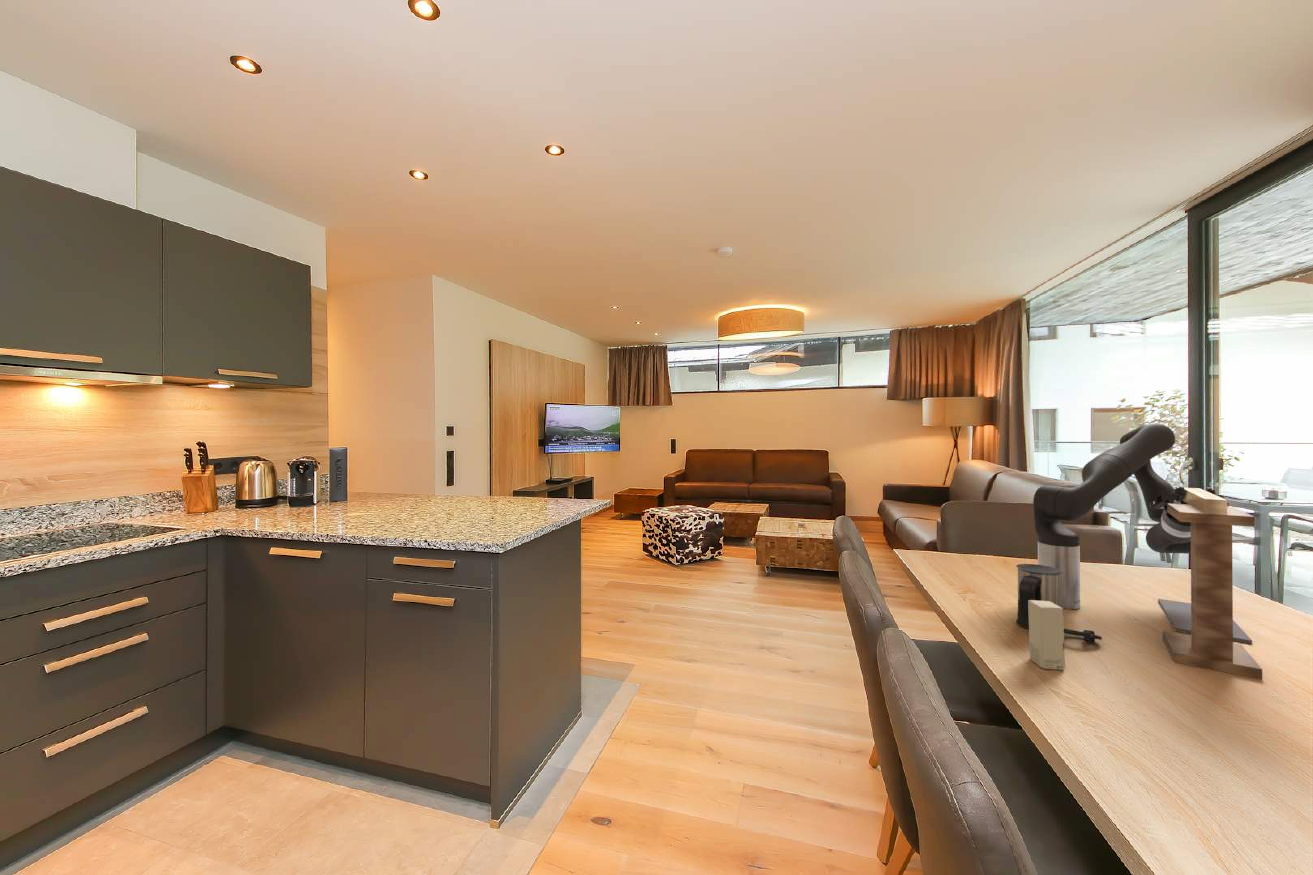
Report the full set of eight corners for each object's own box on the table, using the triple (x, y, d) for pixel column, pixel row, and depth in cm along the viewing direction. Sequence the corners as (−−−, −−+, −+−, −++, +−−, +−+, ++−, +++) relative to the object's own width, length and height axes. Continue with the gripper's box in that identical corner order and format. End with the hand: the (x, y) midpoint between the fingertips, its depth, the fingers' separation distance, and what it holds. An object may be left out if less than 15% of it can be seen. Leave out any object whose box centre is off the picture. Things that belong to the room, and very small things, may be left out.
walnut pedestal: (1174, 662, 103) (1173, 511, 102) (1162, 638, 114) (1161, 502, 114) (1263, 680, 95) (1262, 517, 95) (1240, 652, 107) (1239, 507, 106)
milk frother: (1016, 616, 129) (1015, 561, 129) (1095, 630, 120) (1095, 570, 120) (1016, 635, 118) (1015, 574, 118) (1104, 651, 108) (1103, 585, 108)
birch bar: (1205, 513, 99) (1204, 499, 99) (1181, 499, 118) (1181, 487, 118) (1227, 514, 98) (1227, 500, 98) (1199, 500, 116) (1199, 488, 116)
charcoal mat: (1175, 631, 118) (1175, 627, 118) (1158, 601, 138) (1158, 598, 138) (1252, 643, 111) (1252, 640, 111) (1221, 610, 131) (1221, 607, 131)
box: (1066, 671, 100) (1065, 608, 100) (1041, 669, 101) (1041, 607, 101) (1050, 659, 105) (1050, 600, 105) (1027, 657, 106) (1027, 599, 106)
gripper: (1142, 502, 130) (1151, 474, 118) (1223, 507, 121) (1240, 477, 109) (1145, 529, 127) (1153, 503, 116) (1227, 535, 118) (1245, 508, 107)
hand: (1195, 490), depth 112 cm, fingers open, 3 cm apart
